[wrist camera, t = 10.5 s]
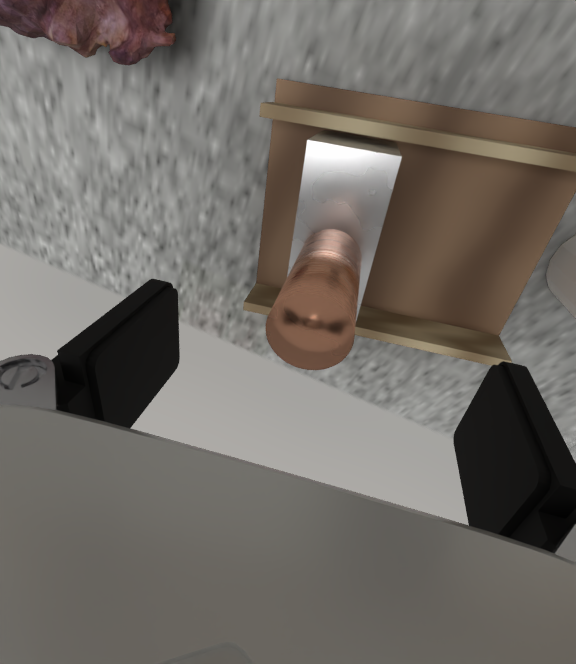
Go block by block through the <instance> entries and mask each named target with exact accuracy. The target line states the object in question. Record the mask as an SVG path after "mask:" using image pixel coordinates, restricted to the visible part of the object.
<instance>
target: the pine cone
mask: <svg viewBox="0 0 576 664" xmlns="http://www.w3.org/2000/svg"><path fill="white" fill-rule="evenodd" d="M171 23H172V13H171V10H170V7H169V4H168V0H0V25H1V26H6V27H9V28H11V29H12V30H13V31H15V32H16V33H18V34H20V35H23V36H27V37H31V38H37V37H45V38H47V39H49V40H51V41H54V42H56V43H57V44H59V45H64V46H69V47H70V48H72V49H73V50H75V51H76V52H78V53H79V54H81V55H82V56H84V57H85V58H87V57H89V56H92V55H95V53H96V51H97V49H98V48H99V47H100V46H102V45H103V46H105V47H106V46H107V45H108V44H109V45H110V51H109V54H110V56H111V58H112V60H113V61H114V62H116V63H118V64H123V65H132V64H136V63H137V62H138V61H140V60H141V59H142V58H146V57H148V55H149V54H150V53H151V52H152V51H153V49H154V47H157V46H170V45H171V44H174V42H175V41H176V37H175V33H167V32H165V29H166V27H167V26H169V25H170V24H171Z"/></svg>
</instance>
